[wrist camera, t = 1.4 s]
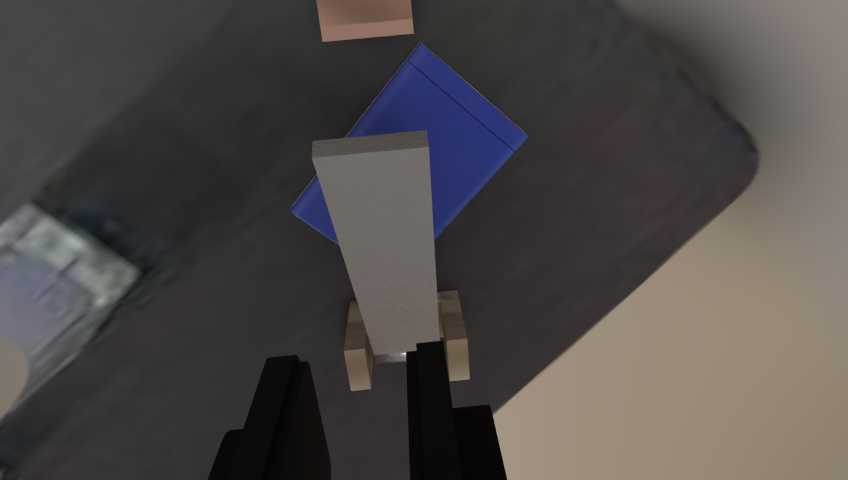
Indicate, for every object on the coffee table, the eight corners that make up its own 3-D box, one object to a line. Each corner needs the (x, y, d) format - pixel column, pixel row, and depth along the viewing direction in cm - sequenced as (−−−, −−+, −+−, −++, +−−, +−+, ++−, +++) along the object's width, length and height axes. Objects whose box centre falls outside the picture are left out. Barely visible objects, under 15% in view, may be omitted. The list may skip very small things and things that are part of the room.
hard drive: (396, 285, 35) (530, 137, 31) (288, 212, 33) (420, 42, 29) (396, 273, 37) (524, 131, 33) (293, 202, 34) (419, 39, 30)
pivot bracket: (459, 326, 38) (469, 379, 33) (356, 337, 38) (351, 390, 33) (457, 290, 37) (467, 338, 32) (350, 300, 37) (343, 350, 32)
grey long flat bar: (438, 340, 35) (441, 361, 34) (376, 346, 35) (377, 368, 34) (426, 124, 19) (429, 153, 18) (312, 134, 19) (311, 164, 18)
